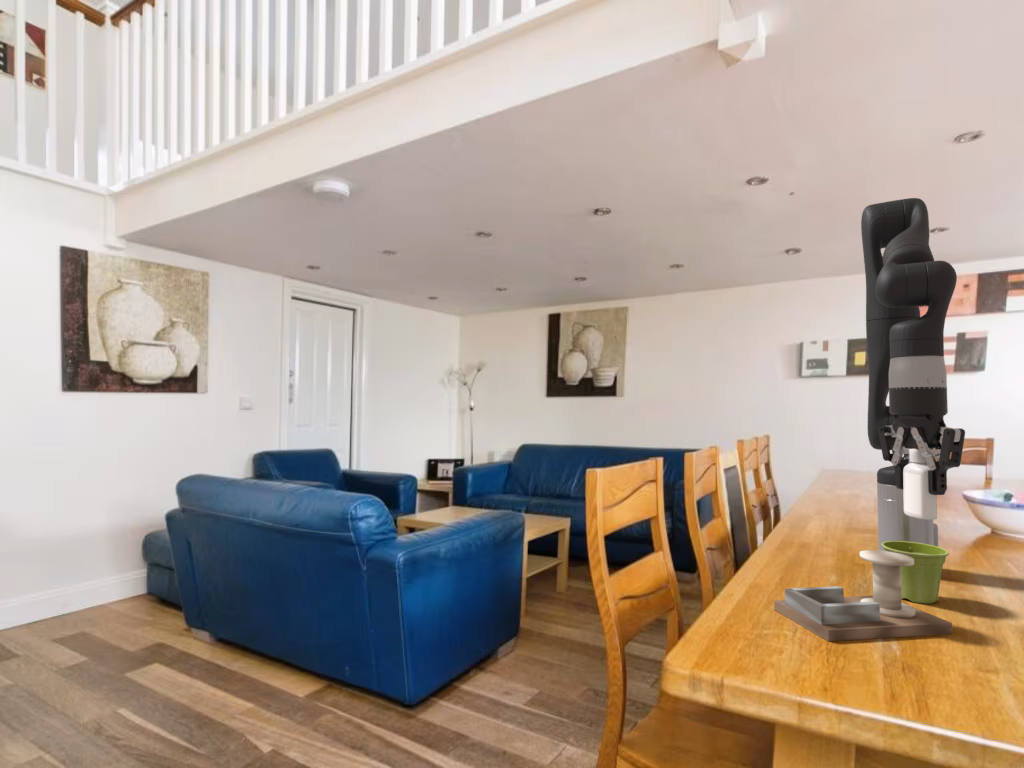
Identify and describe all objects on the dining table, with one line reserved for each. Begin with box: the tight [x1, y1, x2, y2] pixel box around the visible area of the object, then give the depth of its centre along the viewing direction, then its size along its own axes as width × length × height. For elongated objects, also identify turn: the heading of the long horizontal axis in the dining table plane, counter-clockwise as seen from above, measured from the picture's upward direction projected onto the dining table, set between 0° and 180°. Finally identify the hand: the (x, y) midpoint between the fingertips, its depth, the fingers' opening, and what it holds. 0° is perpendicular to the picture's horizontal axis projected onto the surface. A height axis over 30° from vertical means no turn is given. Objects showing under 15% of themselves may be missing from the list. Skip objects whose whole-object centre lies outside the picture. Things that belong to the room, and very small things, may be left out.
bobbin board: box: [773, 549, 953, 642], centre depth 84 cm, size 20×12×10 cm, turn 99°
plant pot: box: [881, 541, 950, 605], centre depth 94 cm, size 9×9×9 cm
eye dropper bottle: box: [903, 448, 938, 521], centre depth 87 cm, size 4×6×12 cm
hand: (919, 491), depth 87 cm, fingers closed on eye dropper bottle, 5 cm apart
